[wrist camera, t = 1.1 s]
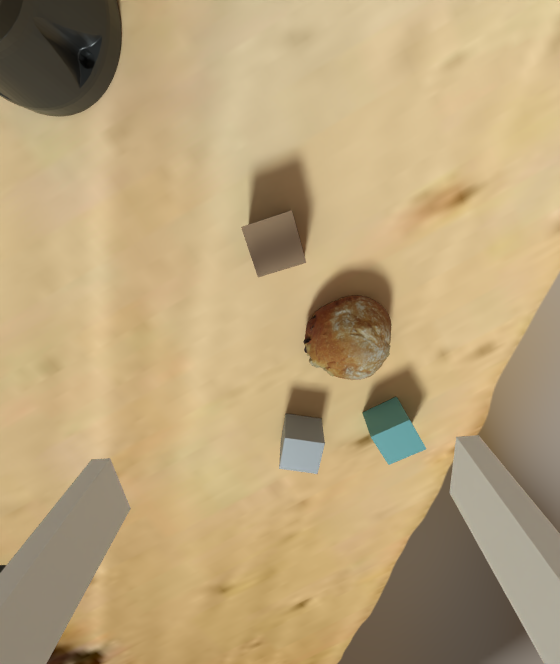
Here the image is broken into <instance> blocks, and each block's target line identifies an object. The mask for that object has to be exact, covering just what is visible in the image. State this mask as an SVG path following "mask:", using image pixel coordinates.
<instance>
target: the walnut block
mask: <svg viewBox="0 0 560 664" xmlns="http://www.w3.org/2000/svg"><path fill="white" fill-rule="evenodd" d="M241 228H242V231H243V234H244V237H245V240H246V243H247V246H248V249H249V252H250V255H251V258H252V261H253V264H254V267H255V270H256V273H257V275H258V277H261V276H264V275H267V274H271V273H274V272H277V271H280V270H284V269H287V268H290V267H294V266H297V265H300V264H303V263H306V260H305V256H304V252H303V248H302V245H301V241H300V237H299V234H298V230H297V227H296V223H295V219H294V216H293V212H292V210H291V211H288V212H285V213H282V214H279V215H276V216H273V217H270V218H267V219H264V220H261V221H258V222H255V223H252V224H249V225H246V226H243V227H241Z"/></svg>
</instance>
